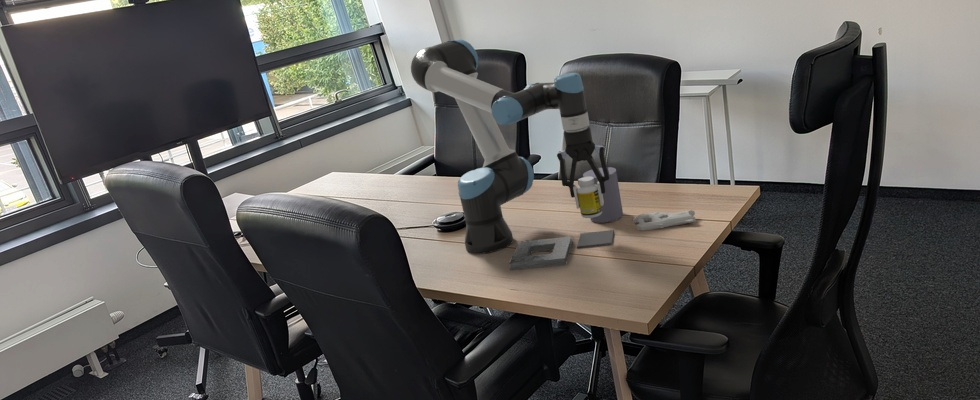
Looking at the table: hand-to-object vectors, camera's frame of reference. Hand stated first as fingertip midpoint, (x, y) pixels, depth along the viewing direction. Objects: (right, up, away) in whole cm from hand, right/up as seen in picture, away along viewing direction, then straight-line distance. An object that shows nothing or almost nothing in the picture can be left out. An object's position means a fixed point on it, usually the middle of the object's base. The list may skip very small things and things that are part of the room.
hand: (590, 205), depth 216 cm
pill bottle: (+1, -3, +1) cm, 3 cm away
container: (+8, -4, +19) cm, 21 cm away
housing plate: (-14, -15, 0) cm, 20 cm away
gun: (+23, -6, +5) cm, 24 cm away
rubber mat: (+2, -10, +3) cm, 11 cm away
